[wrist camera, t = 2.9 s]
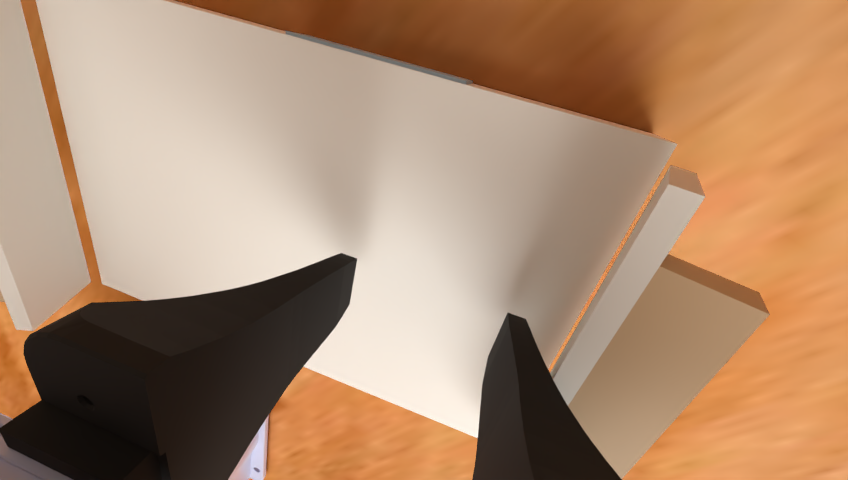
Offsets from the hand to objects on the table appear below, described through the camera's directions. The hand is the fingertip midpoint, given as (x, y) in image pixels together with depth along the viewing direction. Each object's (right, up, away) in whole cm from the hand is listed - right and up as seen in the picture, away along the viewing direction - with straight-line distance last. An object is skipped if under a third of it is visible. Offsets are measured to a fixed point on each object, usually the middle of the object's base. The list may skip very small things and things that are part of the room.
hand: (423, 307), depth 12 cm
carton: (-5, +3, +4) cm, 7 cm away
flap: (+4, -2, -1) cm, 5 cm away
